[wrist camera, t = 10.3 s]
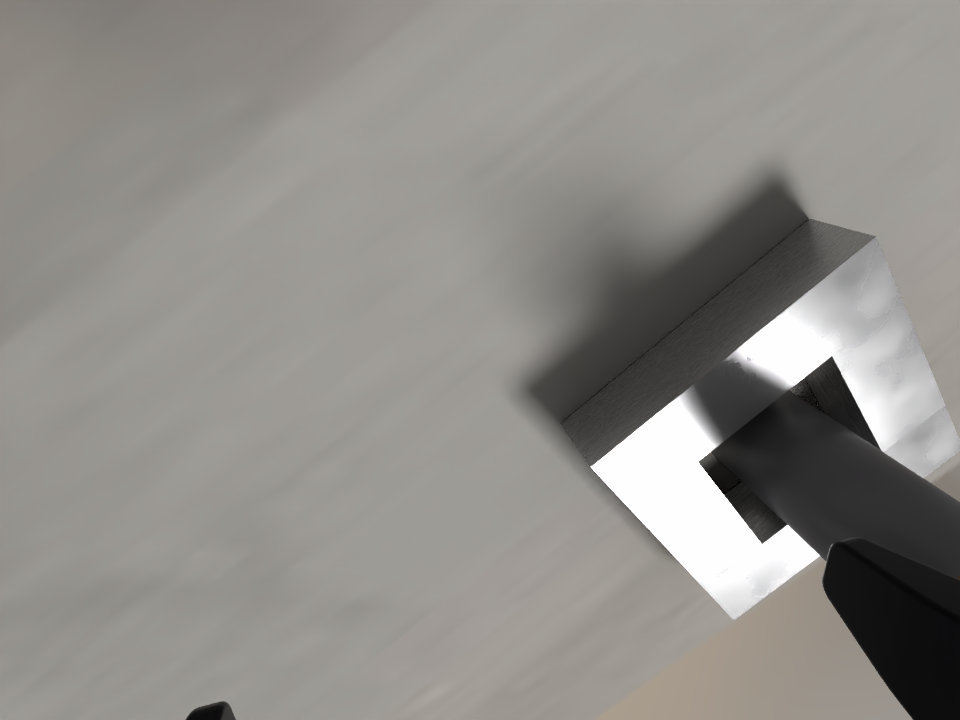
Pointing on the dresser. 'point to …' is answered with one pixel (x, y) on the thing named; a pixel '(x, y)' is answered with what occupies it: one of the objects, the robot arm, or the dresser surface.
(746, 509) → the socket plate
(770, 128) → the dresser surface
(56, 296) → the dresser surface
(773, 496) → the plug
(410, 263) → the dresser surface
